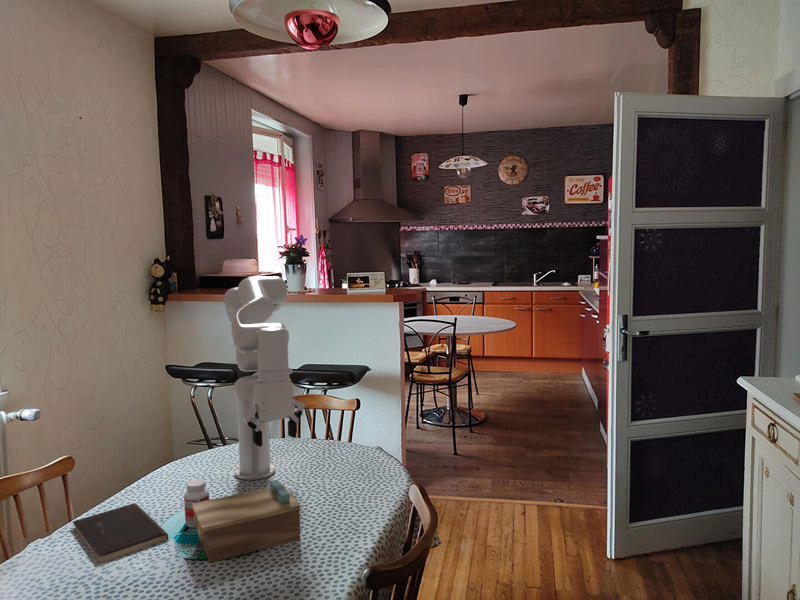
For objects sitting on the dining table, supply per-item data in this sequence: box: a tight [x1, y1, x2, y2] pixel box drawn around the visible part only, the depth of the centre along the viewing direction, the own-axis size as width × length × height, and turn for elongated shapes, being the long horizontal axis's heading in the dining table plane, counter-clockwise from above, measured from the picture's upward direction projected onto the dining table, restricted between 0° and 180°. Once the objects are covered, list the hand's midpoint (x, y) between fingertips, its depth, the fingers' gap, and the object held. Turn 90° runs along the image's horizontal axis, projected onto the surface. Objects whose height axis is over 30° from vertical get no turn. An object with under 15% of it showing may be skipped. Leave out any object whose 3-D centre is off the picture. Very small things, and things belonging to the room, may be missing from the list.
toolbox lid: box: [192, 479, 301, 540], centre depth 143 cm, size 14×23×7 cm, turn 118°
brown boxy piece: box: [198, 508, 301, 564], centre depth 143 cm, size 13×22×8 cm, turn 118°
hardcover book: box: [72, 502, 169, 563], centre depth 147 cm, size 16×23×2 cm
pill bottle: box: [183, 478, 210, 528], centre depth 152 cm, size 6×6×11 cm
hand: (275, 440), depth 148 cm, fingers open, 9 cm apart
